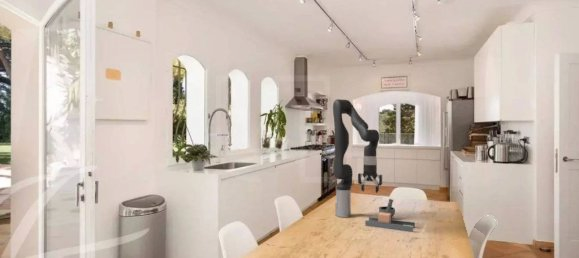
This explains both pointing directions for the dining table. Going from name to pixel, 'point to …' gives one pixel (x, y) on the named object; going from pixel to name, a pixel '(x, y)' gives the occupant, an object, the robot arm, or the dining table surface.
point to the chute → (391, 224)
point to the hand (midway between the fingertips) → (369, 191)
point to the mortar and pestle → (388, 208)
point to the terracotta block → (384, 217)
